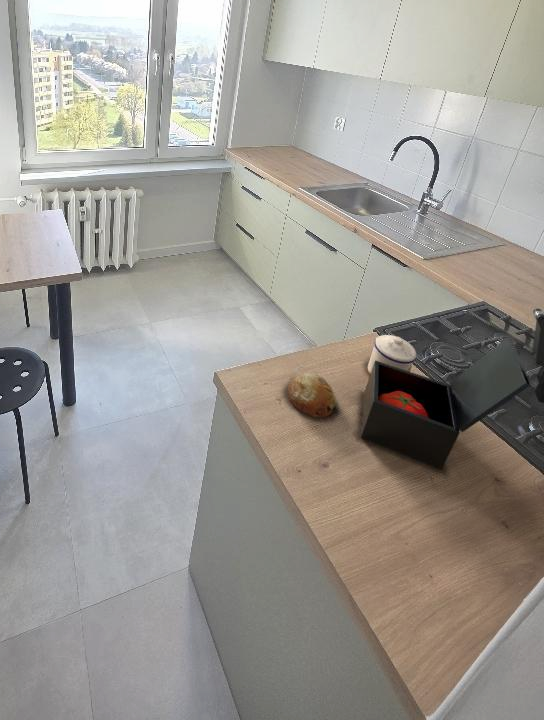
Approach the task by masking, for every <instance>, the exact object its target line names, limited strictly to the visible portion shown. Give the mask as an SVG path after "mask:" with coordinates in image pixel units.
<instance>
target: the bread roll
mask: <svg viewBox="0 0 544 720" xmlns="http://www.w3.org/2000/svg"><path fill="white" fill-rule="evenodd" d="M287 396H288V400H289V401H290V403H291V404H292V406H294V407H296V408H297V409H298V410H300V411H302V412H303V413H305V414H307V415H309V416H311V417H314V418H325V417H328V416H329V415H331V414H332V413H334V412H336V409H335V406H337V405H338V400H337V399H336V397H335V394H334V390H333V389H332V387H331V386H330V384H329V382H328V381H327V380H326V379H325V378H324V377H323V376H322V375H320V374H317V373H313V372H312V373H311V372H310V373H309V372H305V373H302V374H300V375H298V376H296V377H294V378H293V379H292V380H291V381H290V383H289V384H288V387H287Z"/></svg>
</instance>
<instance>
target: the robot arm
mask: <svg viewBox="0 0 544 720" xmlns="http://www.w3.org/2000/svg"><path fill="white" fill-rule="evenodd" d="M532 312H533V313H532V314H533V316H534V318H535V320H536V322H535V329H534V336H533V342H532V343H533V345H532V351H531V354H532V355H531V356H532V357H533V359H534V361H535V364H536V365H537V366H540V367H539V369H538V371H537V373H536V376H535V377H536V379H537V382H538V384H537V385H536V387H535V389H534V390H533V391H534V394H535V396H536V398H537V401H538V402H539V403H542V404H544V310H542V309H541V308H534V309H533V311H532Z"/></svg>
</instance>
